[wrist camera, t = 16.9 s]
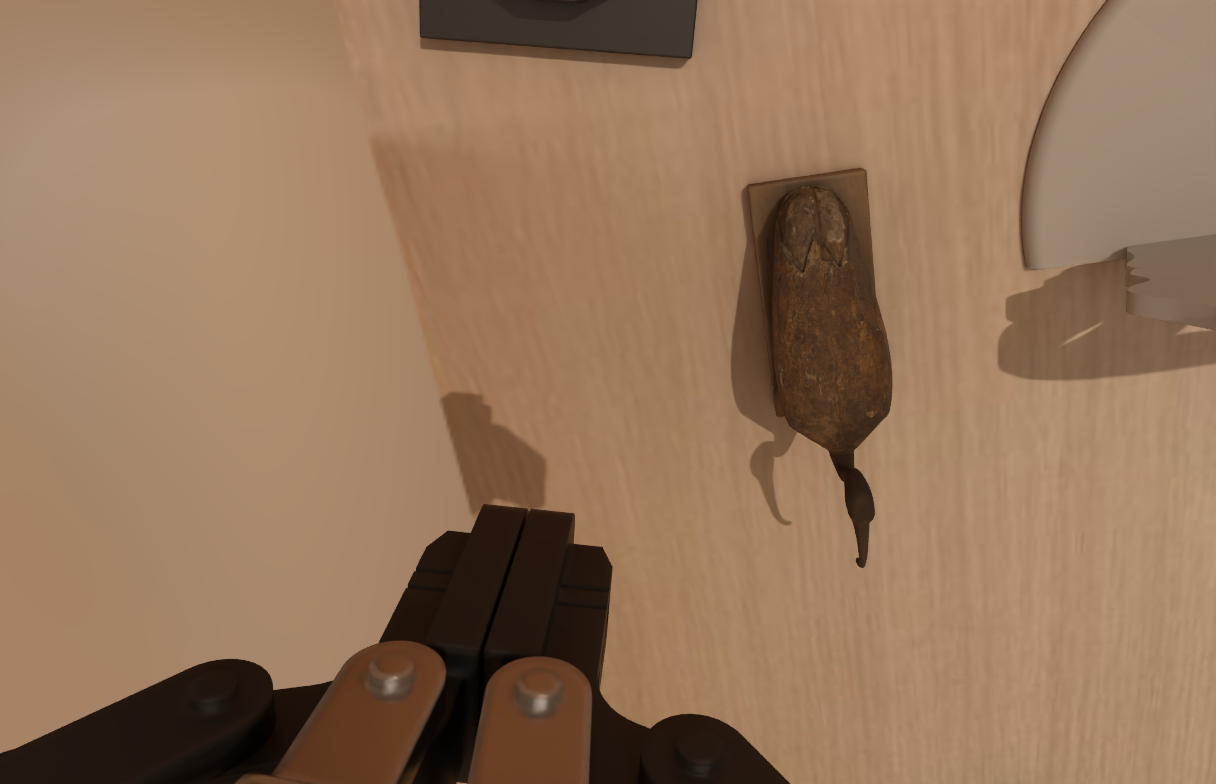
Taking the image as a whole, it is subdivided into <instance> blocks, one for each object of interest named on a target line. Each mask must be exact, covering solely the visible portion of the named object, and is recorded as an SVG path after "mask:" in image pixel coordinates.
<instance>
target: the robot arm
mask: <svg viewBox="0 0 1216 784" xmlns="http://www.w3.org/2000/svg"><path fill="white" fill-rule="evenodd" d="M574 529H575V514H574V513H566V512H556V511H547V510H537V509H530V511H528V509H526V508H517V507H507V506H498V505H488V504H484V505H483V506H482V508H481V510H480V513H479V515H478V517H477V520H476V522H475V524H474V527H473V529H472V532H471V533H464V532H455V531H447V532H446V533H444V534H443V535H442V536H440V537H439V538H438V539H436V540H435V541H434V542H432V543H431V544H430V545H428V546H427V547H426V549H425V551H424V553H423V555H422V557H421V559H420V561H419V563H418V565H417V567H416V571H414V573H413V575H412V577H411V579H410V581H409V583H408V588H406V589H405V591H404V593H403V595H402V597H401V599H400V601H399V603H398V605H397V607H396V609H395V611H394V613H393V615H392V617H391V619H390V621H389V623H388V625H387V627H386V629H385V631H384V633H383V635H382V637H381V639H380V641H379V643H378V644H375V645H372V646H369V647H367V648H365V649H363V650H361V651H359V652H358V653H356V654H355V655H353V656H352V657H351V658H350V659H349V660H347V662H346V663H345V664H344V665H343V667H342V668H341V670H340V671H339V673H338V674H337V676H336V677H335V679H334V680H333V681H330V682H326V683H322V684H317V685H311V686H303V687H296V688H287V689H279V690H273V683H272V679H271V677H270V675H269V674H268V672H267V671H266V670H265V669H263V668H262V667H261V666H259V665H257V664H255V663H253V662H250V661H245V660H239V659H223V660H215V661H210V662H206V663H203V664H199V665H197V666H194V667H192V668H189V669H187V670H185V671H183V672H180V673H178V674H176V675H174V676H172V677H170V678H168V679H165V680H163V681H161V682H159V683H157V684H155V685H152V686H150V687H148V688H146V689H144V690H142V691H139V692H137V693H135V694H133V695H131V696H128V697H127V698H124V699H122V700H120V701H118V702H115V703H113V704H111V705H109V706H107V707H105V708H102V709H100V710H98V711H96V712H94V713H92V714H89V715H87V716H85V717H83V718H81V719H79V720H77V721H74V722H72V723H70V724H68V725H66V726H64V727H61V728H59V729H57V730H55V731H53V732H50V733H48V734H46V735H44V736H42V737H40V738H38V739H35V740H33V741H31V742H29V743H27V744H24V745H22V746H20V747H18V748H16V749H14V750H11V751H9V752H7V753H5V754H3V755H0V784H456V783H457V782H462V783H467V784H790V783H789V782H788V781H787V780H786V779H785V778H784V777H783V776H782V775H781V774H780V773H779V772H778V771H777V770H776V769H775V768H774V767H773V766H772V765H771V764H770V763H769V762H768V761H767V760H766V759H765V758H764V757H763V756H762V755H761V754H760V753H759V752H758V751H757V750H756V749H755V748H754V747H753V746H752V745H751V744H750V743H749V742H748V741H747V740H746V739H745V738H744V737H743V736H742V735H741V734H740V733H739V732H738V731H737V730H735V729H734V728H733V727H731V726H729V725H728V724H726V723H724V722H722V721H720V720H718V719H715V718H712V717H709V716H704V715H698V714H680V715H675V716H671V717H668V718H666V719H663V720H662V721H660V722H658V723H656V724H655V725H654V726H653V727H652V728H651V729H649V728H647V727H644V726H642V725H639V724H637V723H635V722H632V721H630V720H628V719H626V718H625V717H623V716H621V715H620V714H618V713H617V712H616V711H615V710H614V709H612V708H611V707H610V706H609V704H608V703H607V702H606V701H605V699H604V698H603V696H602V695H601V692H600V684H601V677H602V669H603V662H604V654H605V647H606V638H607V626H608V614H609V602H610V591H611V579H612V565H611V563H610V561H609V559H608V557H607V555H606V553H605V551H604V549H603V547H597V546H588V545H579V544H574Z"/></svg>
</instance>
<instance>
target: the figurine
mask: <svg viewBox="0 0 1216 784" xmlns="http://www.w3.org/2000/svg"><path fill="white" fill-rule="evenodd" d="M748 194H749V202H750V210H751V218H752V226H753V234H754V241H755V250H756V258H757V265H758V274H759V282H760V290H761V298H762V306H763V314H764V322H765V331H766V338H767V347H768V355H769V362H770V370H771V377H772V385H773V394H774V404H775V411H776V415H777V417H782V416H785V417H786V420H787V422H788V424H789V426H790V427H791V428H793V429H794V430H796V431H797V432H799V433H801V434H802V435H804V436H805V437H807V438H808V439H810V440H812V441H814V442H815V443H817V444H819V445H821V446H822V447H824V448H825V449H827V450H828V451H829V453H830V457H831V459H832V462H833V464H834V466H835V469H836V471H837V473H838V475H839V477H840V479H841V480H842V481H843V482H844V486H845V503H846V507H847V510H848V514H849V516H850V518H851V519H852V521H853V525H854V529H855V534H856V538H857V545H858V552H859V558H856V563H857V565H858V566H859V567H861V568H864V567H865V564H866V560H867V553H868V539H869V523H870V522H871V521H872V520H873V518H874V515H875V509H874V501H873V497H872V493H871V490H870V487H869V485H868V483H867V481H866V479H865V478H864V476H863V475H862V473H861V472H860V471H859V470H858V469H856V468H854V450H855V449H856V448H857V447H858V446H859V445H860V444H861V443H862V442H863V441H864V440H865V439H866V438H867V437H868V435H869V434H870V433H871V432H872V431H873V430H874V429H875V428H876V427H877V426H878V425H879V423H880V422H881V421H882V420H883V419H884V418H885V417H886V416H887V415H888V413H889V411H890V406H891V399H892V368H891V358H890V351H889V345H888V340H887V335H886V331H885V327H884V323H883V320H882V316H881V313H880V309H879V306H878V302H877V298H876V293H875V279H874V267H873V254H872V240H871V227H870V213H869V200H868V187H867V172H866V170H864V169H862V168H858V169H850V170H843V171H836V172H830V173H823V174H817V175H810V176H803V177H796V178H789V179H783V180H776V181H769V182H763V183H756V184H749V185H748Z"/></svg>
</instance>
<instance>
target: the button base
mask: <svg viewBox="0 0 1216 784" xmlns="http://www.w3.org/2000/svg"><path fill="white" fill-rule="evenodd" d="M419 8H420V37H421V38H430V39H443V40H456V41H468V42H481V43H494V44H507V45H520V46H533V47H546V48H559V49H572V50H584V51H597V52H610V53H623V54H636V55H649V56H662V57H675V58H688V59H690V58H691V57H692V50H693V40H694V30H695V20H696V10H697V0H419Z"/></svg>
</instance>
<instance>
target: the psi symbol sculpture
mask: <svg viewBox="0 0 1216 784" xmlns="http://www.w3.org/2000/svg"><path fill="white" fill-rule="evenodd" d="M1022 239H1023V250H1024V257H1025V263H1026V267H1027V268H1029V269H1036V270H1042V269H1051V268H1058V267H1066V266H1073V265H1081V264H1088V263H1096V262H1103V261H1110V260H1118V259H1125V258H1126V286H1128V287H1129V288H1127V299H1126V312H1127V313H1129V314H1132V315H1135V316H1140V317H1145V318H1151V319H1158V320H1165V321H1171V322H1177V323H1182V324H1187V325H1192V326H1197V327H1202V328H1206V329H1211V330H1215V331H1216V0H1107V2H1106V3H1105V4H1104V5H1103V7H1102V8H1101V9H1100V11H1099V12H1098V13H1097V15H1096V16H1095V18H1094V19H1093V20H1092V22H1091V23H1090V24H1089V26H1088V27H1087V29H1086V30H1085V32H1084V33H1083V35H1082V36H1081V38H1080V39H1079V41H1078V43H1077V44H1076V46H1075V48H1074V49H1073V51H1072V53H1071V54H1070V56H1069V58H1068V59H1067V61H1066V63H1065V65H1064V67H1063V69H1062V71H1061V72H1060V74H1059V76H1058V78H1057V80H1056V83H1055V85H1054V87H1053V89H1052V91H1051V93H1050V95H1049V98H1048V100H1047V103H1046V105H1045V108H1044V110H1043V113H1042V115H1041V118H1040V121H1039V124H1038V127H1037V130H1036V133H1035V137H1034V140H1033V144H1032V147H1031V151H1030V156H1029V160H1028V165H1027V170H1026V176H1025V182H1024V191H1023V201H1022Z"/></svg>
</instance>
